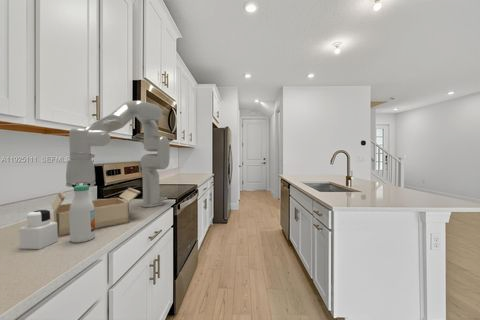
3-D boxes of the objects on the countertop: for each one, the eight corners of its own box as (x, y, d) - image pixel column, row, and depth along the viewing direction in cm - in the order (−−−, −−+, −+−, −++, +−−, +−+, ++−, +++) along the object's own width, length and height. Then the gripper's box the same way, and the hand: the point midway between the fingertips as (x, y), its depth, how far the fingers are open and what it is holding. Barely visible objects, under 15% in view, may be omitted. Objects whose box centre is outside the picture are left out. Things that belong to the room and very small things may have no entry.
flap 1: (53, 205, 99) (62, 191, 101) (55, 212, 87) (65, 196, 89) (51, 204, 99) (60, 191, 101) (53, 211, 86) (63, 196, 88)
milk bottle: (85, 243, 80) (84, 187, 79) (64, 243, 80) (62, 187, 79) (99, 235, 88) (98, 184, 87) (80, 235, 88) (78, 184, 87)
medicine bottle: (39, 240, 82) (38, 208, 82) (58, 241, 82) (57, 208, 82) (19, 249, 75) (18, 213, 75) (39, 249, 75) (38, 213, 75)
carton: (118, 214, 118) (117, 197, 118) (129, 222, 103) (129, 203, 103) (53, 225, 100) (53, 205, 100) (57, 237, 86) (56, 213, 86)
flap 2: (119, 197, 117) (130, 188, 120) (129, 202, 105) (140, 192, 108) (118, 196, 117) (129, 187, 120) (128, 201, 104) (139, 191, 108)
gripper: (98, 156, 106) (99, 195, 107) (58, 157, 96) (59, 200, 97) (102, 157, 101) (103, 197, 101) (59, 157, 91) (60, 202, 91)
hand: (81, 198), depth 99 cm, fingers closed
